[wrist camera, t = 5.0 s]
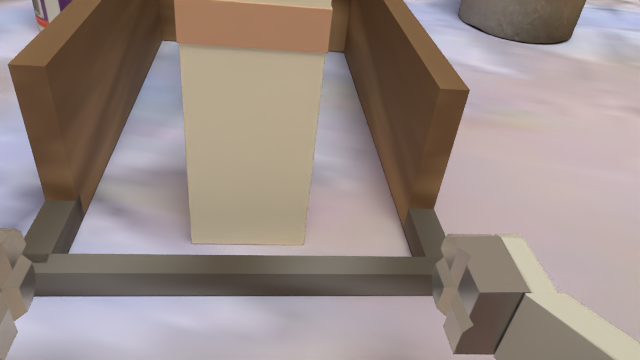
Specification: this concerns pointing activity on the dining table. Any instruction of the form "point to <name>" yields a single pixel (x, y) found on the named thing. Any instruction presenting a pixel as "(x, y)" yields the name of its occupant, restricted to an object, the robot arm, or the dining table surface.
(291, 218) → the banded cream pillar
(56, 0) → the pill bottle
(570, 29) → the pillar candle
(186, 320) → the dining table surface
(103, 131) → the dispenser
